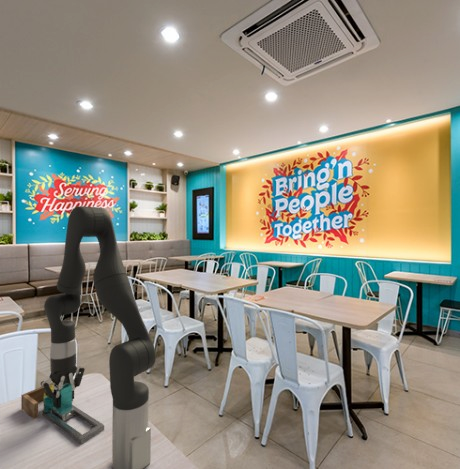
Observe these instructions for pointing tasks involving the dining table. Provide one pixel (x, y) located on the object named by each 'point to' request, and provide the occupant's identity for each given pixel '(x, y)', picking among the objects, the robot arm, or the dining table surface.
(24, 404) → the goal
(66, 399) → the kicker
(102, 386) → the dining table surface
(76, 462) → the dining table surface
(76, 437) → the rails
